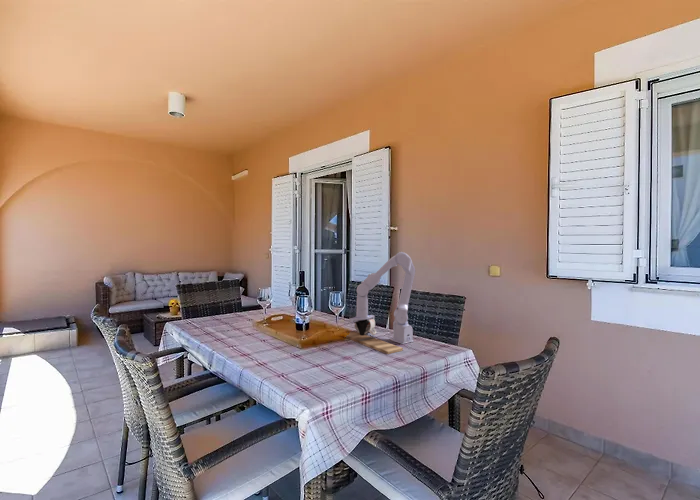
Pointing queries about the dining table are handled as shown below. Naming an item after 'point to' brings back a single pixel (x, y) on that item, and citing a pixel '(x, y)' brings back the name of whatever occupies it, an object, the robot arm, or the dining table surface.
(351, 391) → the dining table surface
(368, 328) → the mug
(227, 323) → the dining table surface
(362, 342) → the oak board
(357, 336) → the plank
